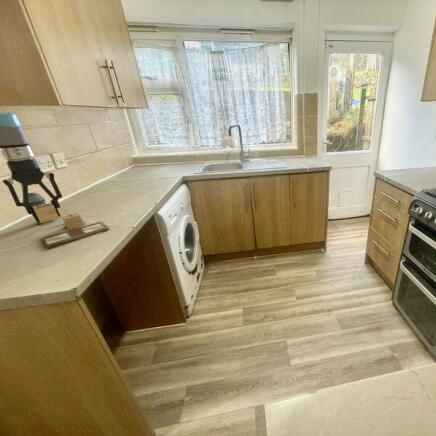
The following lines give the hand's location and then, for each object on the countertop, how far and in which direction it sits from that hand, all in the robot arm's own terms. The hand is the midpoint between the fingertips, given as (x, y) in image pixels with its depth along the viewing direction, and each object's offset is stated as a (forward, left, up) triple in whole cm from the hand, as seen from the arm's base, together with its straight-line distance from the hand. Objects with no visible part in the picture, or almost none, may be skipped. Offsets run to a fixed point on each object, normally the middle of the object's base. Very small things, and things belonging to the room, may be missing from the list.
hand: (48, 218), depth 96 cm
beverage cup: (-28, 0, -10) cm, 30 cm away
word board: (0, +6, -10) cm, 12 cm away
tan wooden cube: (-13, +8, -10) cm, 18 cm away
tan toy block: (0, 0, 0) cm, 0 cm away
